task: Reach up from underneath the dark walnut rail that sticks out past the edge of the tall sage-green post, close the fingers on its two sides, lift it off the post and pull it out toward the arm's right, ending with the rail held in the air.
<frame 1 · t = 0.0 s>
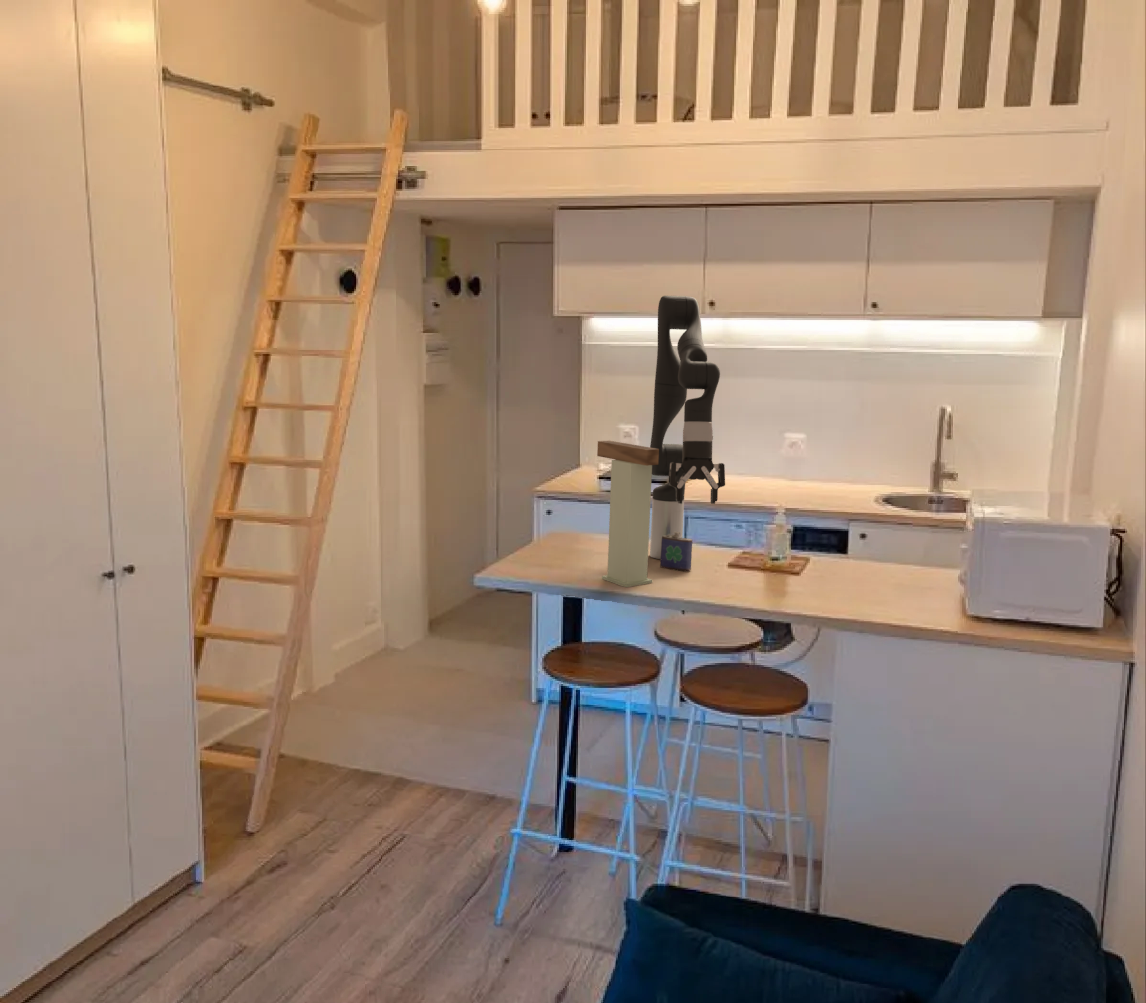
hand: (696, 503, 259), 22 cm above the worktop, tool pointing down, fingers open, 8 cm apart
flask: (675, 569, 284), on the worktop
stand: (627, 580, 269), on the worktop
rail: (627, 460, 265), point 32 cm above the worktop, touching stand
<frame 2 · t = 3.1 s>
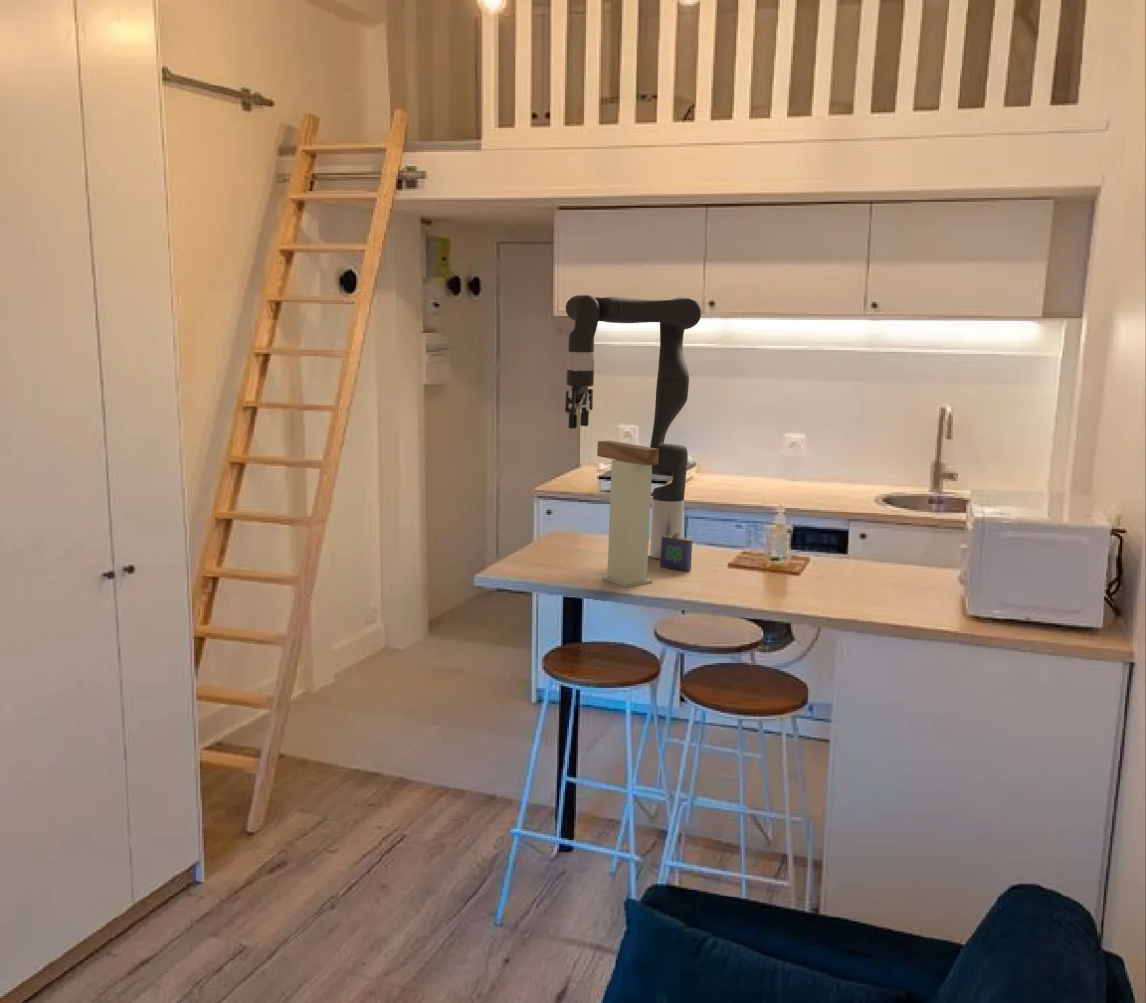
hand: (578, 427, 283), 38 cm above the worktop, tool pointing down, fingers open, 8 cm apart
nothing on the worktop moved.
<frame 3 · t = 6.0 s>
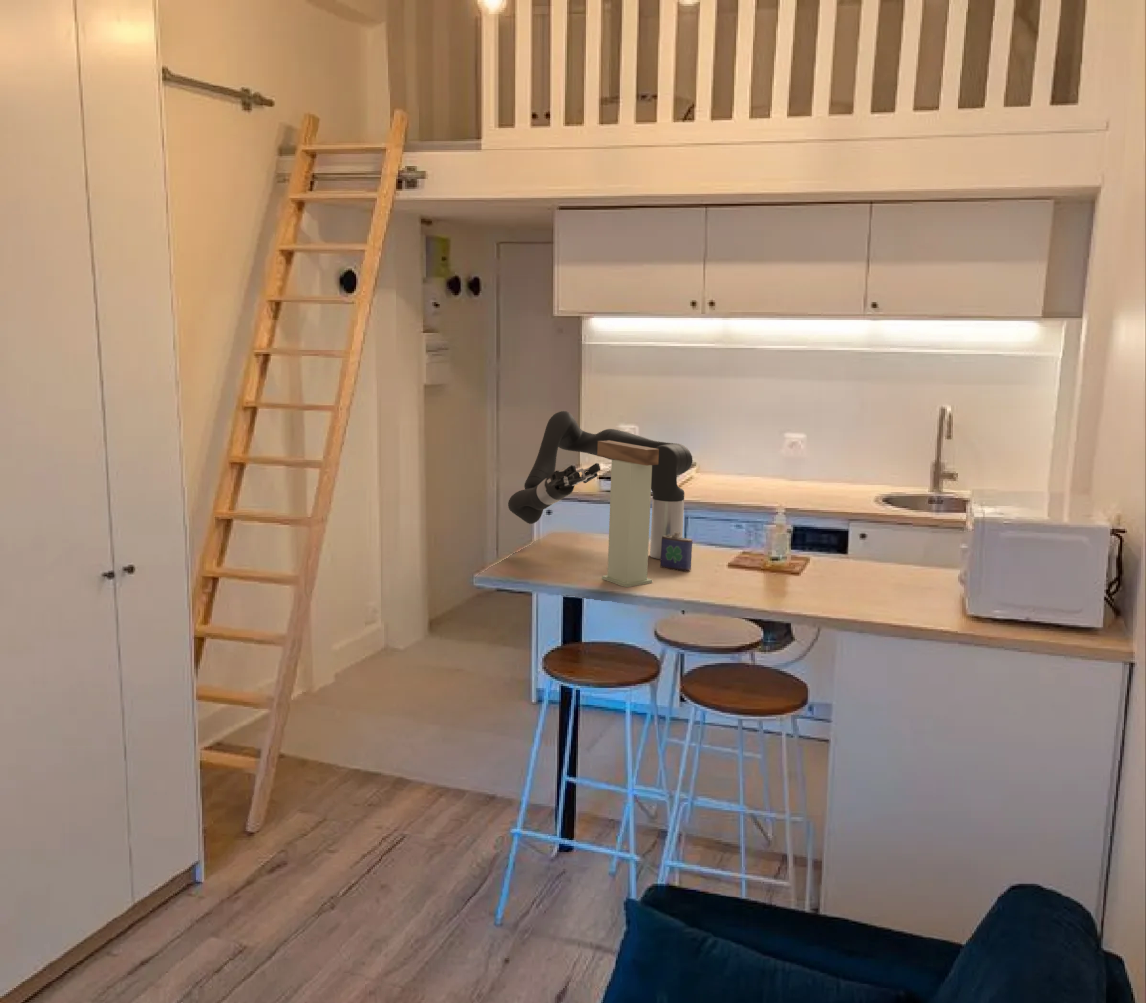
hand: (586, 467, 279), 28 cm above the worktop, tool pointing upward, fingers open, 8 cm apart
nothing on the worktop moved.
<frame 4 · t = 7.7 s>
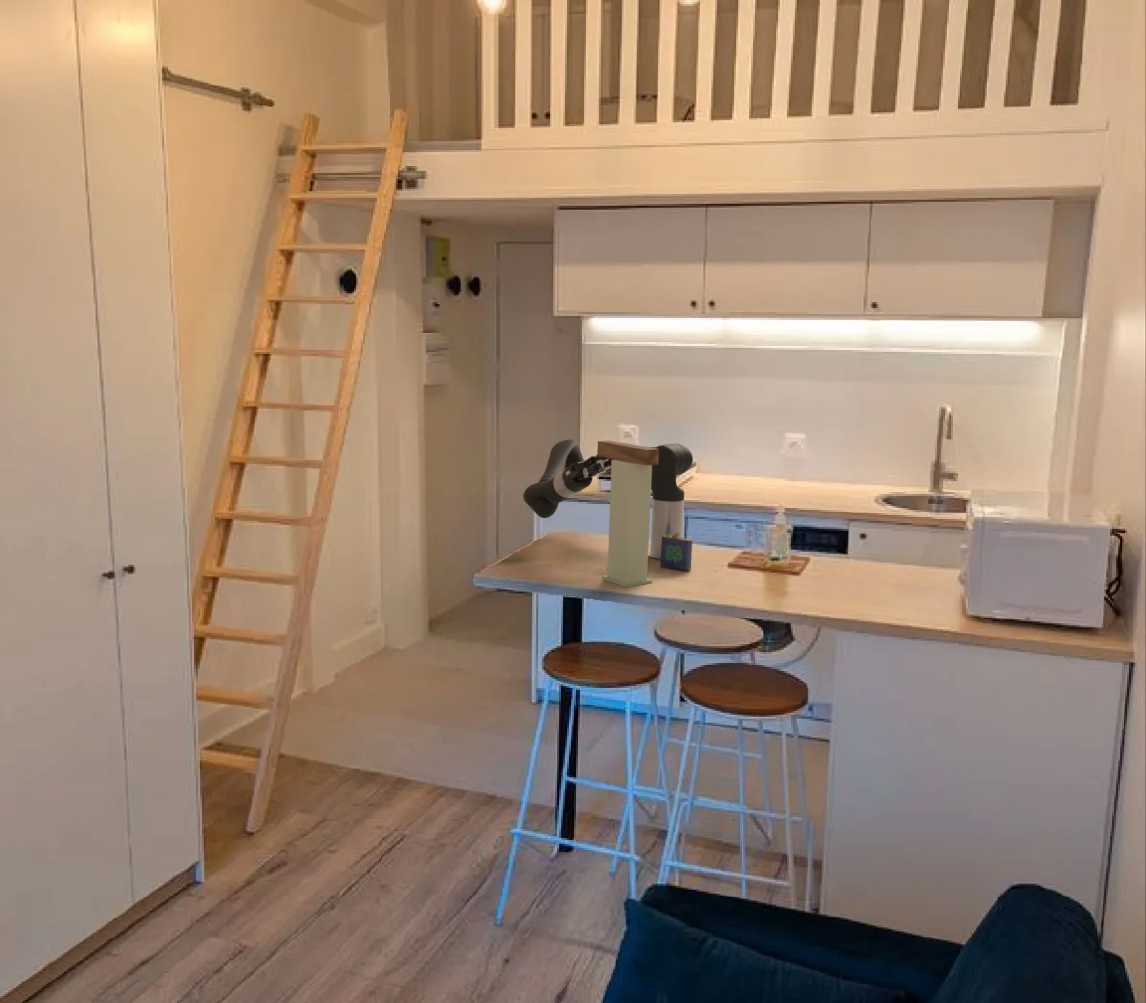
hand: (606, 458, 272), 32 cm above the worktop, tool pointing upward, fingers open, 8 cm apart
nothing on the worktop moved.
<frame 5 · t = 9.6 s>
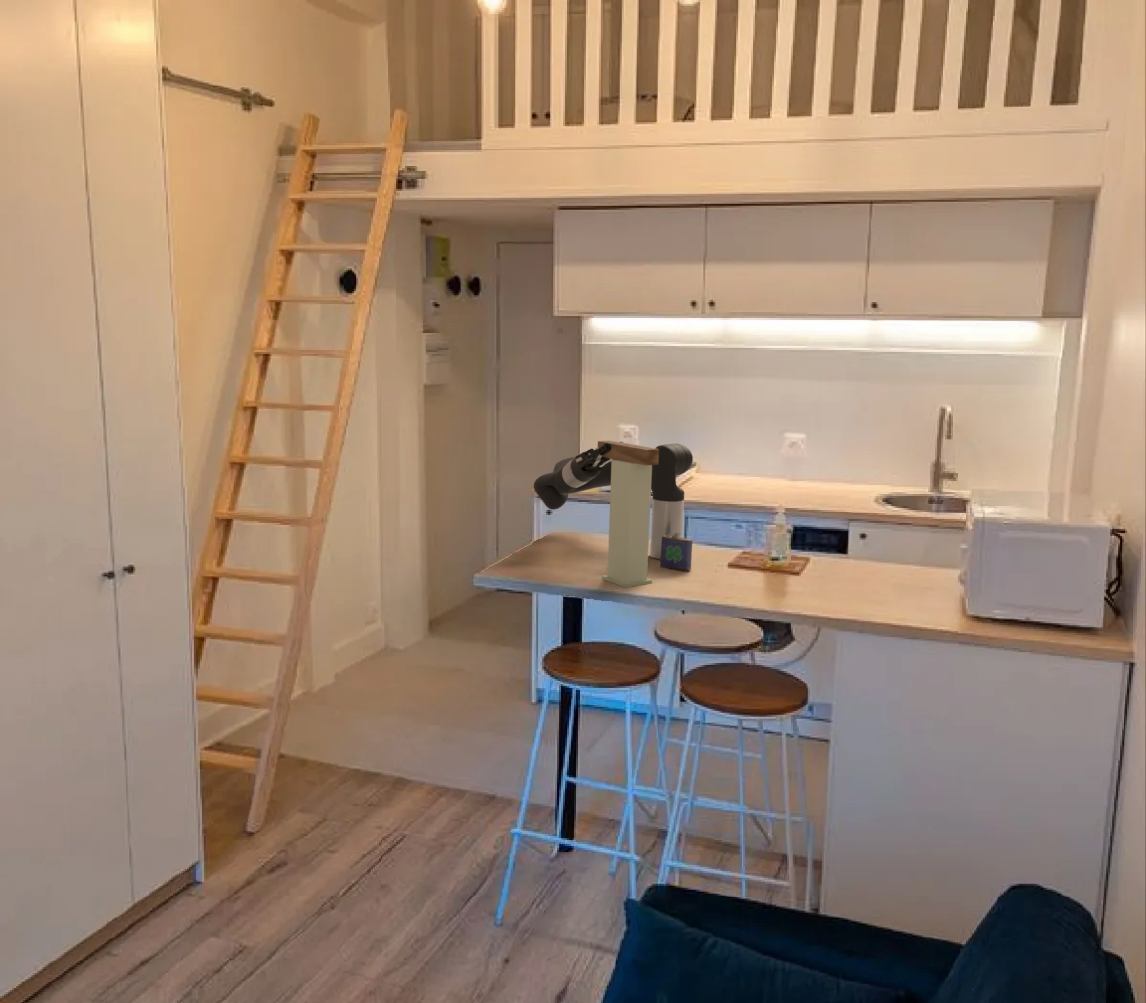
hand: (616, 445, 268), 35 cm above the worktop, tool pointing upward, fingers closed on rail, 4 cm apart
rail: (627, 460, 265), point 32 cm above the worktop, touching gripper, stand
everything else where it was.
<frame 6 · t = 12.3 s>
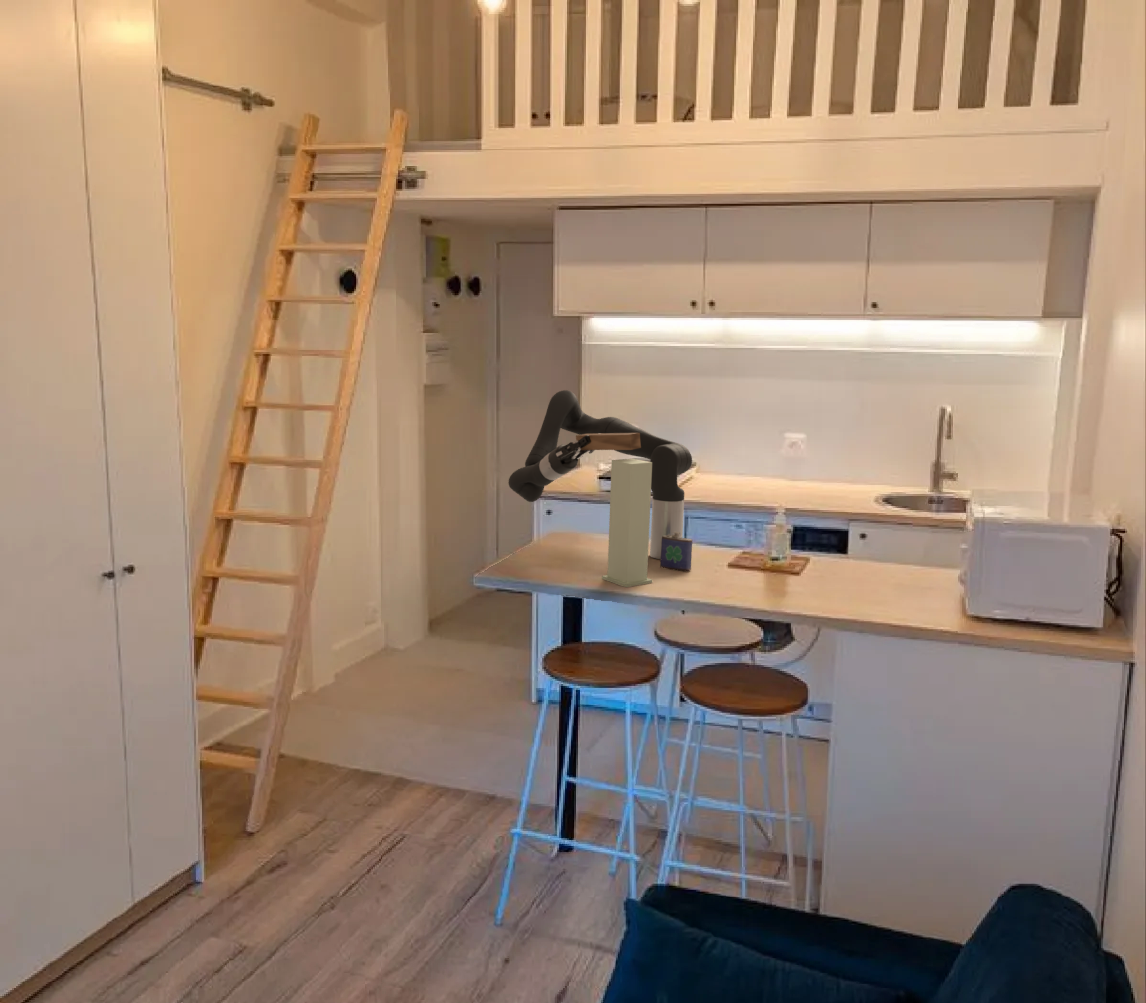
hand: (594, 437, 277), 36 cm above the worktop, tool pointing upward, fingers closed on rail, 4 cm apart
rail: (608, 448, 274), point 34 cm above the worktop, tilted 7°, touching gripper
everything else where it was.
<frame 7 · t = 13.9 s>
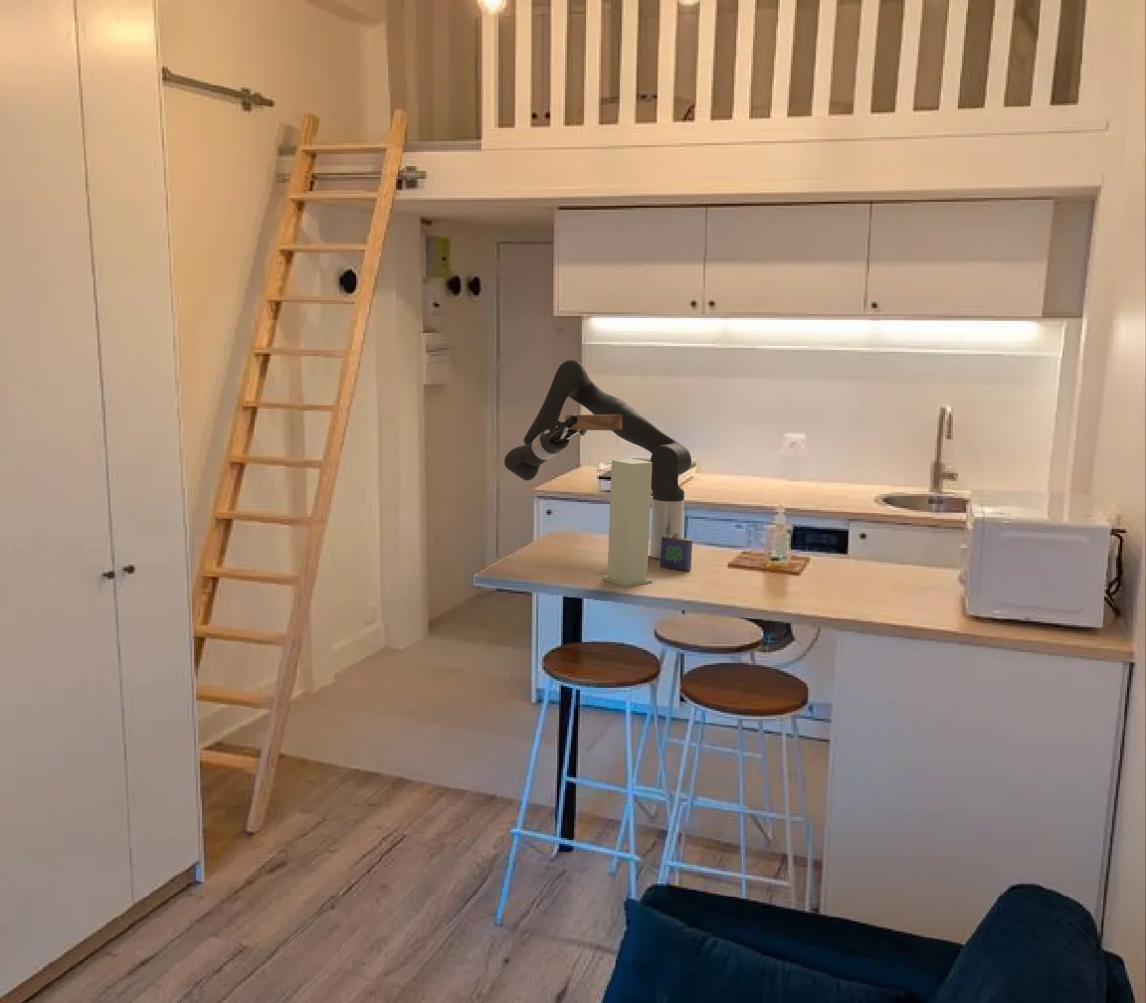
hand: (582, 417, 279), 41 cm above the worktop, tool pointing upward, fingers closed on rail, 4 cm apart
rail: (593, 429, 275), point 39 cm above the worktop, tilted 5°, touching gripper
everything else where it was.
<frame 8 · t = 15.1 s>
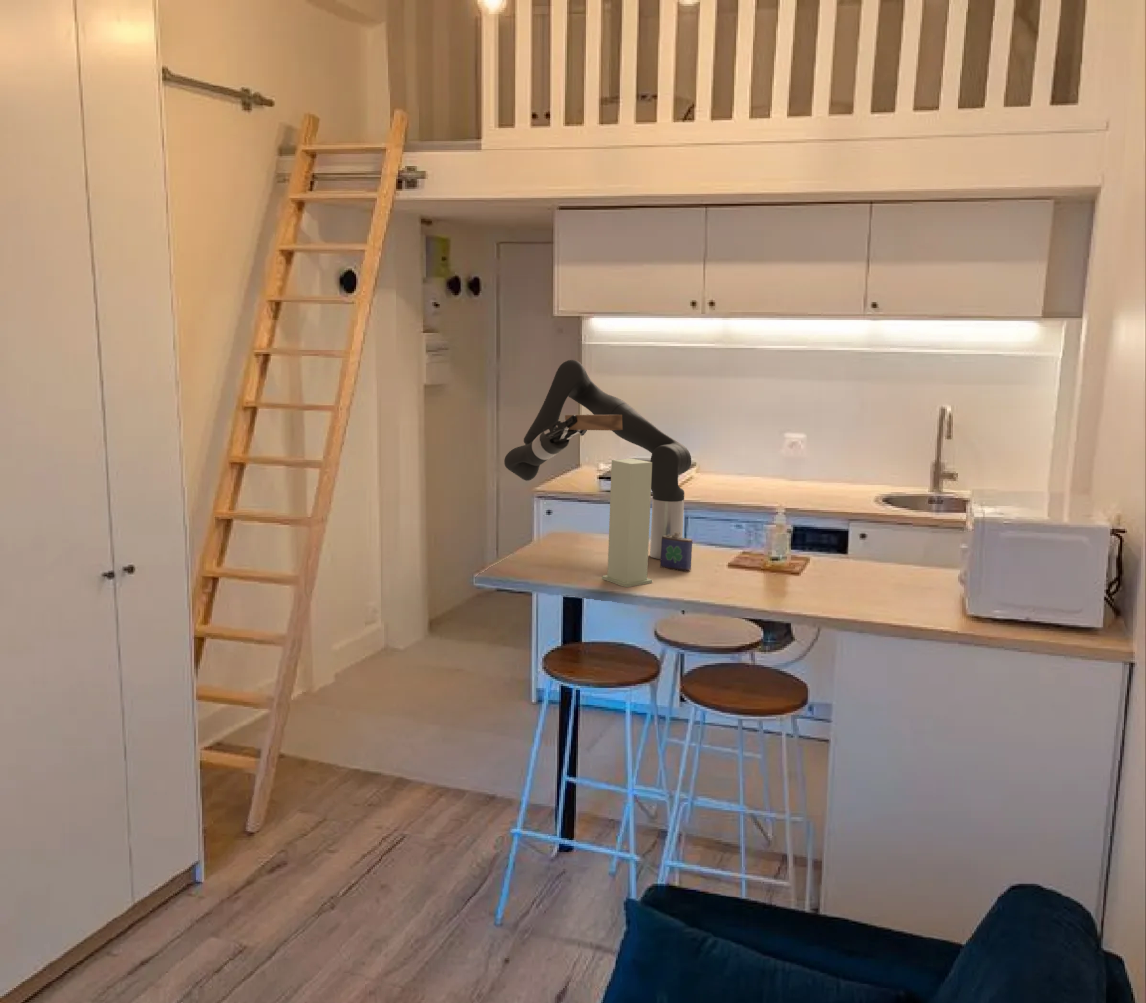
hand: (582, 417, 279), 41 cm above the worktop, tool pointing upward, fingers closed on rail, 4 cm apart
rail: (593, 429, 275), point 39 cm above the worktop, tilted 5°, touching gripper
everything else where it was.
at the end: the gripper is holding rail; rail moved 16.0 cm from its start; rail point 38.5 cm above the worktop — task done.
